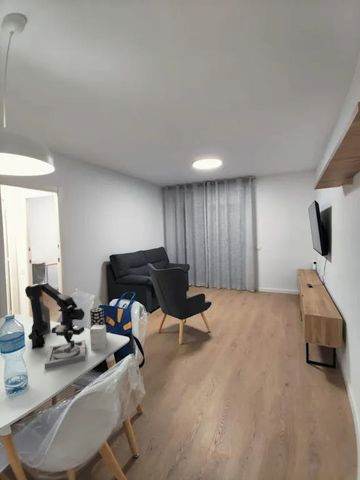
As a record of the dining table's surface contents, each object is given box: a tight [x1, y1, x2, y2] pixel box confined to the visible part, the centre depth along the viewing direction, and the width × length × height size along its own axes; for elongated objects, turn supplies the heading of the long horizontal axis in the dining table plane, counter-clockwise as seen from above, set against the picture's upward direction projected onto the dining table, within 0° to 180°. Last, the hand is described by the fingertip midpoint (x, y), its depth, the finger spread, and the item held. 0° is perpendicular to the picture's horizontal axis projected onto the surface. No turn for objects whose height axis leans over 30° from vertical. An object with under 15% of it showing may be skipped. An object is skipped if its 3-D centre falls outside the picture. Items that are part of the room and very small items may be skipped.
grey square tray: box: [44, 339, 87, 370], centre depth 140 cm, size 20×20×3 cm
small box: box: [89, 324, 108, 351], centre depth 149 cm, size 8×6×13 cm
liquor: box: [32, 290, 52, 335], centre depth 171 cm, size 9×9×30 cm
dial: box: [53, 339, 80, 360], centre depth 140 cm, size 14×14×4 cm
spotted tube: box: [89, 307, 105, 328], centre depth 159 cm, size 8×8×20 cm
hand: (68, 343), depth 146 cm, fingers closed
